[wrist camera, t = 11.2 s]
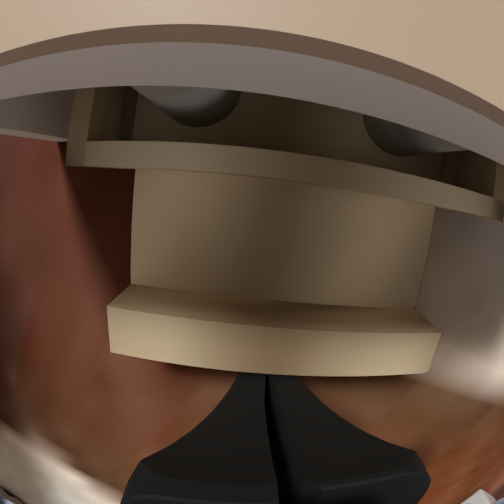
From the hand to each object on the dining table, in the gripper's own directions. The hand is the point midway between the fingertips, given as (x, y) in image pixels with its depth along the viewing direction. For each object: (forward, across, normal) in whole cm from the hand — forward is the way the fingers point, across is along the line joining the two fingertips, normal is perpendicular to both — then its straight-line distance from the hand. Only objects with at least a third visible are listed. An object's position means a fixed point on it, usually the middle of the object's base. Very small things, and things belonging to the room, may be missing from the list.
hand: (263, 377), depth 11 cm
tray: (+1, -1, -7) cm, 7 cm away
